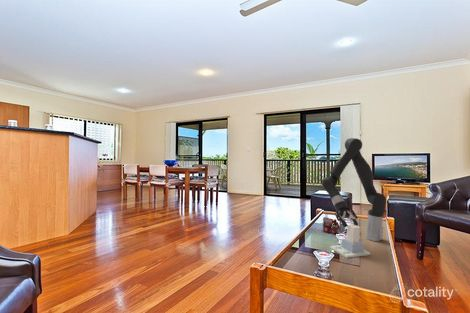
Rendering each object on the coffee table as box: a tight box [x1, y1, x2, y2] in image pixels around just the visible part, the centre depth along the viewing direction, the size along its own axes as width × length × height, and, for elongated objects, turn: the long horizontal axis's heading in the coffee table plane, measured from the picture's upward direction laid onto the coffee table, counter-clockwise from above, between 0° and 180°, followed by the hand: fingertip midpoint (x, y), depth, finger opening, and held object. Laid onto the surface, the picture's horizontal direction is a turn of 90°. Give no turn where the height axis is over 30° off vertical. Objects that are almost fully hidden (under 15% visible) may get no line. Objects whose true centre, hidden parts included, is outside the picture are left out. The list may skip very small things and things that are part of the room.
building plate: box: [329, 238, 371, 259], centre depth 153 cm, size 18×14×6 cm
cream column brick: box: [345, 224, 361, 243], centre depth 153 cm, size 5×5×10 cm
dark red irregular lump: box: [322, 217, 341, 235], centre depth 186 cm, size 7×12×10 cm, turn 54°
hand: (351, 226), depth 155 cm, fingers open, 8 cm apart
